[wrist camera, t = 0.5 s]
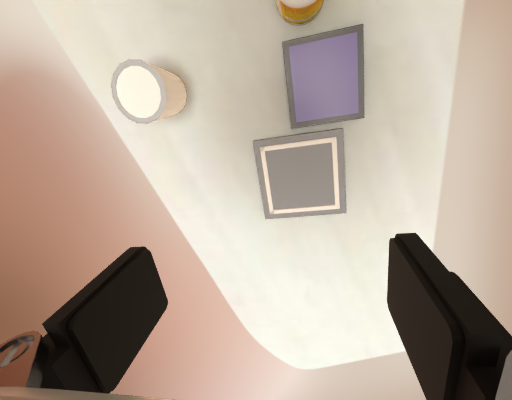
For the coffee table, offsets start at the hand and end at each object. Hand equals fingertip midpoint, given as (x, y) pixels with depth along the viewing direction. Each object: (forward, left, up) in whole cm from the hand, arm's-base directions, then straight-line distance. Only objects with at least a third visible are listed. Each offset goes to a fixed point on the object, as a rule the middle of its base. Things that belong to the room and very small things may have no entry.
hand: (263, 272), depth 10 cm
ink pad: (-8, +5, -27) cm, 29 cm away
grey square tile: (+4, +1, -27) cm, 28 cm away
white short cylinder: (-10, -16, -28) cm, 33 cm away
